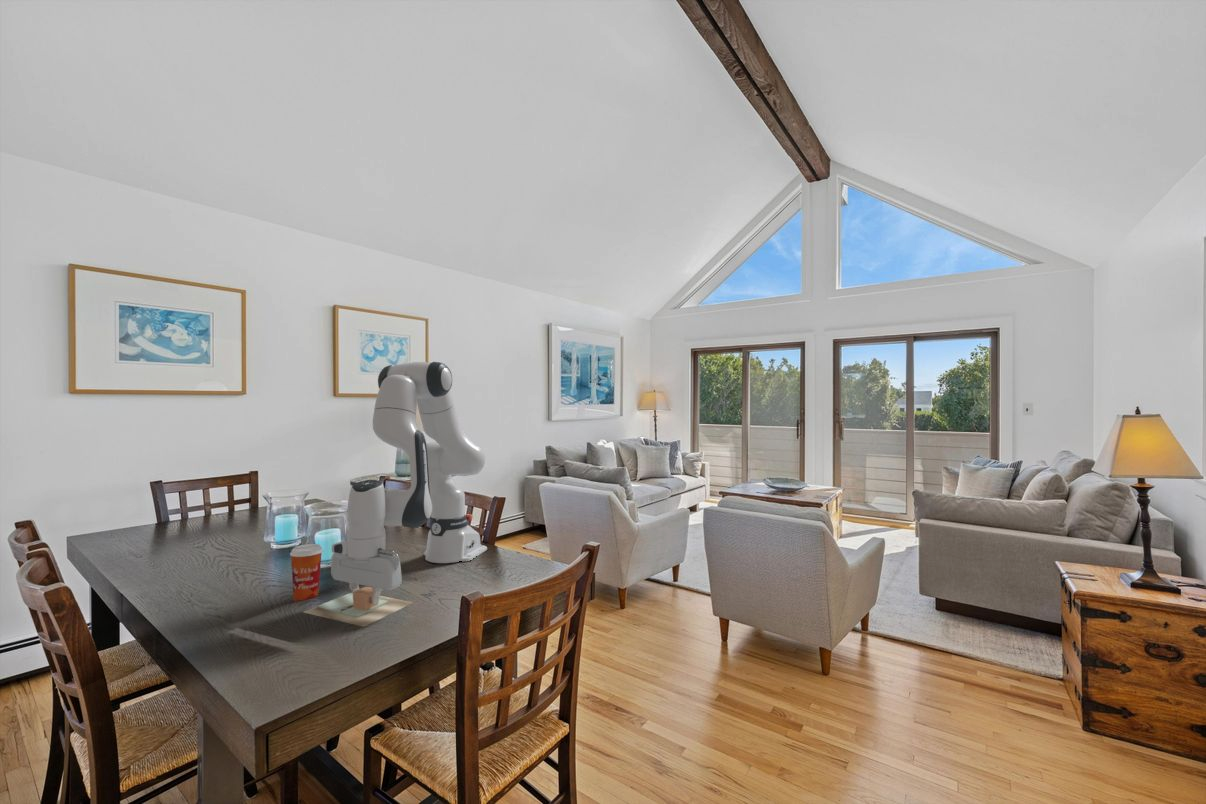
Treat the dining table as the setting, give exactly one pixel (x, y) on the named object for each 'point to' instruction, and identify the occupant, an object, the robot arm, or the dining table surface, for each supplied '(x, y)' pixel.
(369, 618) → the board
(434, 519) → the robot arm
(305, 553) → the paper cup
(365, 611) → the stub
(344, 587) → the dining table surface
